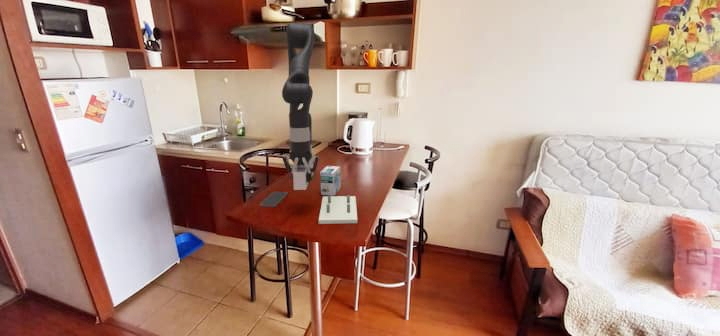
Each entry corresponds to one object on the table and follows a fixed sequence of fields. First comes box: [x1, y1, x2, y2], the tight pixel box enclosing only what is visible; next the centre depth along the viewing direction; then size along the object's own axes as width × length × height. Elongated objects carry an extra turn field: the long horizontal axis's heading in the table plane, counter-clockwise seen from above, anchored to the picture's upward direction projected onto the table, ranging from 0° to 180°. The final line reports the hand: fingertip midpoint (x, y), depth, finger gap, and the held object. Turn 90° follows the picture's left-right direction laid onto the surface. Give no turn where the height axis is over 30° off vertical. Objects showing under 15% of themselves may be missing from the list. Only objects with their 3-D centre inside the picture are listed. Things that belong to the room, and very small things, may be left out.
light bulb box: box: [319, 165, 342, 196], centre depth 139 cm, size 11×7×11 cm, turn 168°
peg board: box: [318, 194, 358, 225], centre depth 120 cm, size 22×14×4 cm, turn 3°
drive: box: [292, 165, 310, 191], centre depth 118 cm, size 12×5×7 cm, turn 2°
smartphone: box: [258, 191, 289, 208], centre depth 131 cm, size 7×1×15 cm
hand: (302, 181), depth 118 cm, fingers closed on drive, 4 cm apart
